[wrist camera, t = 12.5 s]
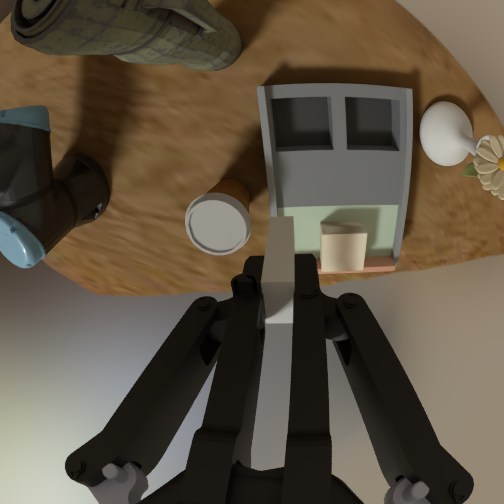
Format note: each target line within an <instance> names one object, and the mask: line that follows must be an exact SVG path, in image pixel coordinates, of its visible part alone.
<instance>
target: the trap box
mask: <svg viewBox="0 0 504 504" xmlns="http://www.w3.org/2000/svg"><path fill="white" fill-rule="evenodd" d="M257 95H258V103H259V112H260V120H261V129H262V137H263V146H264V155H265V164H266V174H267V183H268V193H269V203H270V213H271V217H282V216H293V219H294V239H295V254H308V253H312V254H313V255H314V256H315V258H316V260H317V269H318V274H334V273H358V272H379V271H395V265H397V264H398V259H399V254H400V249H401V243H402V237H403V231H404V225H405V218H406V211H407V203H408V195H409V185H410V174H411V160H412V139H413V97H412V89H409V88H400V87H391V86H380V85H366V84H344V83H308V84H285V85H271V86H258V87H257ZM349 221H362V223H363V225H364V227H365V229H366V231H367V242H366V251H365V259H364V267H363V271H340V272H322V271H321V263H320V222H349Z"/></svg>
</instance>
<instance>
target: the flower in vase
mask: <svg viewBox="0 0 504 504" xmlns="http://www.w3.org/2000/svg"><path fill="white" fill-rule="evenodd" d="M420 140H421V144H422V147H423V149H424V151H425V153H426V154H427V156H428V157H429V158H430V159H431V160H432V161H434V162H435V163H437V164H439V165H443V166H452V165H456V164H458V163H460V162H461V161H463V160H464V159H465V158H466V156H467V155H468V153H469V152H470V153H472V154H473V155H474V156H475V158H474V159H473V163H470V164H469V165H468V166H467V167H466V168H465V170H464V171H463V173H462V175H463V176H472V177H477V178H479V179H480V182H481V183H482V184H483V188H484V189H485V190H490V189H491V193H492V194H493V195H498V196H499V198H500V199H501V200H504V136H502V135H498V136H497V138H496V137H495V136H493V135H491V136H484V137H482V138H481V139H474V138H473V131H472V126H471V123H470V121H469V119H468V117H467V115H466V114H465V113H464V112H463V111H462V109H461V108H459V107H458V106H457V105H455V104H453V103H451V102H446V101H441V102H437V103H435V104H433V105H431V106H430V107H429V108H428V109H427V110H426V112H425V113H424V115H423V117H422V120H421V124H420Z"/></svg>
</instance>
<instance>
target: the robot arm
mask: <svg viewBox="0 0 504 504" xmlns="http://www.w3.org/2000/svg"><path fill="white" fill-rule="evenodd" d="M50 132H51V129H50V124H49V112H48V109H47V108H46V107H45V106H42V105H37V106H28V107H20V108H13V109H7V110H2V111H0V250H1V252H2V253H3V254H4V256H5V257H6V258H7V259H8V260H9V261H11V262H12V263H13V264H15V265H17V266H19V267H21V268H30V267H32V266H34V265H35V264H36V263H37V262H38V261H39V260H40V259H43V258H44V257H45V256H46V254H47V253H48V252H49V251H50V250H51V249H52V248H53V247H54V246H55V245H56V244H57V243H58V242H59V241H60V240H61V239H62V238H63V237H65V236H66V235H67V234H68V233H69V232H70V231H71V230H72V229H73V228H75V227H78V226H81V225H84V224H88V223H91V222H93V221H94V220H96V219H97V218H98V217H99V216H100V215H101V214H102V213H103V212H104V211H105V209H106V207H107V204H108V200H109V189H108V183H107V180H106V177H105V175H104V173H103V171H102V169H101V168H100V167H99V165H98V164H97V163H96V162H95V161H94V160H93V159H91V158H90V157H88V156H86V155H83V154H73V155H70V156H68V157H66V158H64V159H63V160H61V161H60V162H59V163H58V164H57V165H56V166H55V168H54V169H53V167H52V157H51V142H50ZM231 287H232V291H233V297H232V298H230V299H227V300H224V301H220V302H217V300H216V299H215V298H213V297H209V296H204V297H200V298H198V299H196V300H195V301H194V302H193V303H192V304H191V306H190V307H189V308H188V310H187V311H186V312H185V314H184V315H183V317H182V318H181V319H180V321H179V322H178V323H177V325H176V326H175V328H174V329H173V331H172V332H171V333H170V335H169V336H168V338H167V339H166V340H165V342H164V343H163V344H162V346H161V347H160V349H159V350H158V351H157V353H156V354H155V356H154V357H153V359H152V360H151V361H150V363H149V364H148V365H147V367H146V368H145V370H144V371H143V373H142V374H141V376H140V377H139V378H138V380H137V381H136V383H135V384H134V385H133V387H132V388H131V390H130V391H129V393H128V394H127V396H126V397H125V398H124V400H123V401H122V403H121V404H120V406H119V407H118V409H117V410H116V412H115V413H114V414H113V416H112V417H111V419H110V420H109V422H108V423H107V424H106V426H105V427H104V429H103V431H101V432H100V433H99V434H97V435H96V436H95V437H93V438H92V439H91V440H89V441H88V442H87V443H85V444H84V445H82V446H81V447H80V448H78V449H77V450H76V451H74V452H73V453H71V454H70V455H69V456H68V457H67V460H66V462H65V470H66V473H67V475H68V476H69V477H70V478H71V479H72V480H74V481H76V482H78V483H80V484H83V485H85V486H87V487H88V488H89V490H90V491H91V492H92V494H93V495H94V497H95V498H96V499H97V501H98V502H99V504H364V503H363V502H362V501H361V500H360V499H359V498H358V497H357V496H356V495H355V494H354V493H353V492H352V491H351V489H350V488H349V487H348V486H347V485H346V484H345V483H344V482H343V481H342V480H341V479H339V478H338V477H336V476H334V475H333V474H331V469H332V468H331V467H332V441H331V435H330V429H329V391H328V371H327V354H326V339H331V340H333V344H334V346H335V349H336V351H337V354H338V356H339V358H340V361H341V364H342V366H343V368H344V371H345V374H346V376H347V379H348V381H349V384H350V386H351V389H352V391H353V394H354V397H355V399H356V402H357V405H358V407H359V410H360V413H361V415H362V418H363V421H364V423H365V426H366V429H367V432H368V434H369V437H370V440H371V443H372V445H373V448H374V451H375V454H376V457H377V460H378V463H379V465H380V468H381V471H382V473H383V475H384V477H385V479H386V481H387V482H388V484H389V486H390V487H391V488H390V489H389V490H388V491H387V493H386V494H385V498H384V504H463V503H464V502H465V501H466V500H467V499H468V498H469V496H470V495H471V493H472V491H473V486H474V482H473V478H472V476H471V475H470V474H469V473H468V472H467V471H466V470H465V469H464V468H463V467H462V466H461V465H460V464H459V463H458V462H457V461H456V460H455V459H454V458H453V457H452V456H451V455H450V454H449V453H448V452H447V451H446V450H445V449H444V448H443V447H442V446H441V445H440V443H439V441H438V439H437V436H436V434H435V432H434V430H433V427H432V425H431V423H430V421H429V419H428V417H427V415H426V412H425V410H424V408H423V406H422V404H421V402H420V400H419V398H418V396H417V394H416V392H415V390H414V388H413V386H412V384H411V382H410V380H409V379H408V376H407V375H406V373H405V371H404V369H403V367H402V365H401V363H400V361H399V359H398V358H397V356H396V354H395V352H394V350H393V348H392V347H391V345H390V343H389V341H388V340H387V338H386V336H385V334H384V333H383V331H382V329H381V327H380V326H379V324H378V322H377V320H376V319H375V317H374V315H373V314H372V312H371V310H370V309H369V307H368V305H367V304H366V302H365V300H364V299H363V298H362V297H361V296H360V295H358V294H355V293H345V294H342V295H341V296H340V297H339V298H338V299H336V298H332V297H328V296H326V295H325V294H323V293H322V292H321V290H320V287H319V278H318V269H317V260H316V258H315V256H314V255H313V254H312V253H308V254H295V239H294V219H293V216H282V217H270V221H269V229H268V236H267V243H266V250H265V256H250V257H249V258H248V259H247V260H246V261H245V264H244V269H243V273H242V274H239V275H237V276H235V277H234V278H233V279H232V280H231ZM265 319H266V323H293V336H292V337H293V338H292V365H291V366H292V367H291V387H290V406H289V422H288V434H287V442H286V453H285V465H284V467H281V468H276V469H270V470H264V471H258V470H255V469H252V468H251V445H252V438H253V430H254V423H255V415H256V408H257V400H258V391H259V383H260V375H261V366H262V358H263V349H264V340H265ZM325 338H326V339H325ZM216 361H217V364H216V369H215V373H214V377H213V382H212V385H211V390H210V394H209V398H208V402H207V406H206V411H205V415H204V419H203V423H202V426H201V428H199V429H198V430H196V432H195V434H194V437H193V440H192V444H191V448H190V452H189V457H188V460H187V465H186V469H185V470H184V471H182V472H181V473H179V474H178V475H177V476H176V477H174V478H173V479H171V480H170V481H168V482H167V483H166V484H164V485H163V486H162V487H160V488H159V489H157V490H156V491H154V492H153V493H152V494H150V495H149V496H147V497H146V498H144V499H143V500H141V496H142V495H143V493H144V492H145V491H146V490H147V489H148V480H147V477H146V476H147V475H148V474H149V473H150V472H151V471H152V470H153V469H154V468H155V467H156V465H157V464H158V462H159V461H160V459H161V458H162V456H163V455H164V453H165V451H166V450H167V448H168V446H169V444H170V443H171V441H172V439H173V437H174V436H175V434H176V432H177V431H178V429H179V427H180V426H181V424H182V422H183V420H184V419H185V417H186V415H187V413H188V412H189V410H190V408H191V406H192V404H193V403H194V401H195V399H196V397H197V395H198V394H199V392H200V390H201V388H202V387H203V385H204V383H205V381H206V379H207V378H208V376H209V374H210V372H211V370H212V369H213V367H214V365H215V363H216Z"/></svg>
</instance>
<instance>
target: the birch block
mask: <svg viewBox="0 0 504 504" xmlns="http://www.w3.org/2000/svg"><path fill="white" fill-rule="evenodd" d="M366 242H367V231H366V229H365V227H364V225H363V223H362V221H349V222H320V263H321V271H322V272H340V271H363V267H364V259H365V251H366Z"/></svg>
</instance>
